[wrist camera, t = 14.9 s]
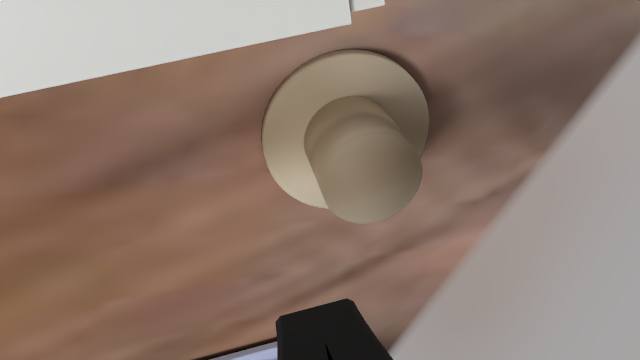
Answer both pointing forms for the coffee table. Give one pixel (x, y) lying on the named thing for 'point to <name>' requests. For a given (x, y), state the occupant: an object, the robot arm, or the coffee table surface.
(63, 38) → the box
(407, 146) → the disc pedestal
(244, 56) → the coffee table surface
